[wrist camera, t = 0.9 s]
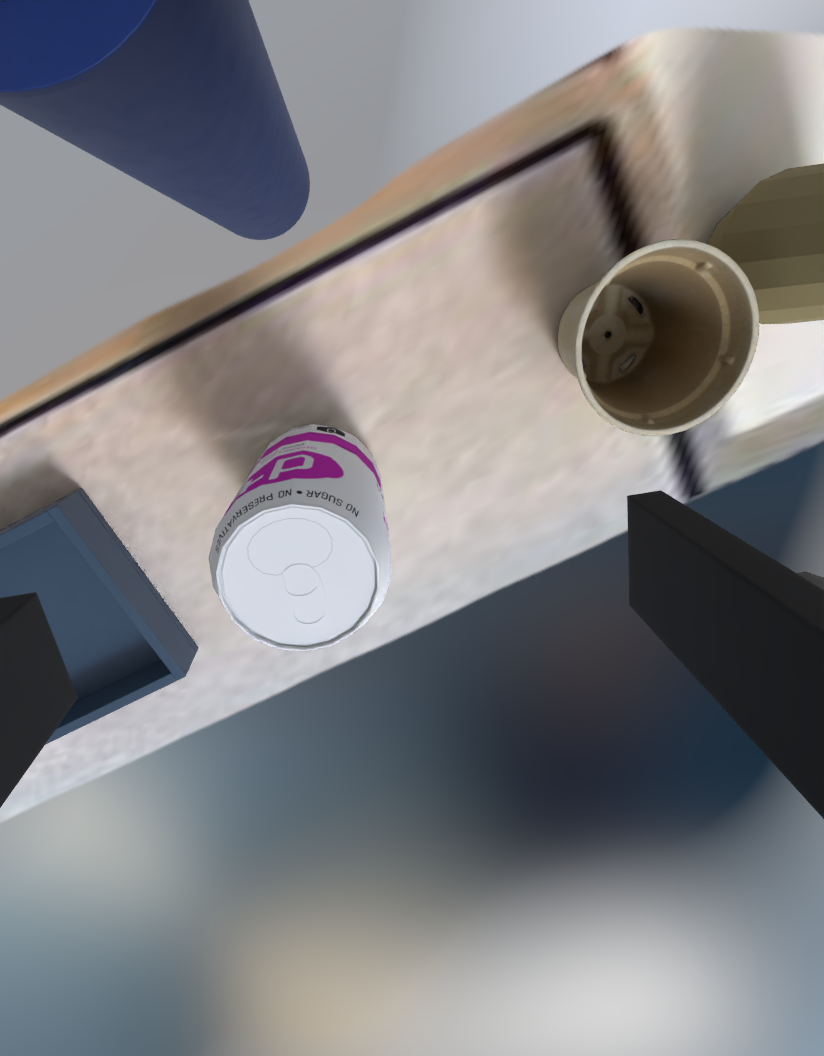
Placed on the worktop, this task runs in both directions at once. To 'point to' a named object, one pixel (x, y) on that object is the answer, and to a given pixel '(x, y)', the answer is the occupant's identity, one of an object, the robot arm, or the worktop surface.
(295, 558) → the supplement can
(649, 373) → the flower pot
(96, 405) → the worktop surface
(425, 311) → the worktop surface
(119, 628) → the blue open tray
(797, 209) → the squeeze bottle
